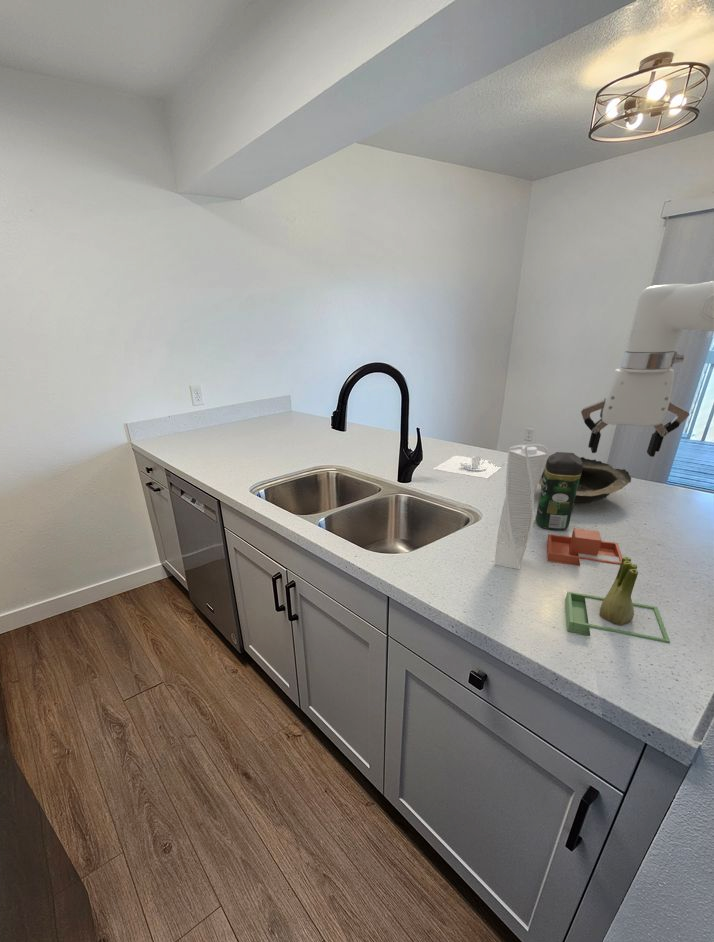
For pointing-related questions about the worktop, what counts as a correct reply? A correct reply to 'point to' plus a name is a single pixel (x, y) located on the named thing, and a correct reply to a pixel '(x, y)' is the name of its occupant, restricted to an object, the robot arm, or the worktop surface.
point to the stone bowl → (597, 481)
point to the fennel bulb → (620, 595)
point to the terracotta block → (585, 542)
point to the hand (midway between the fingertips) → (621, 453)
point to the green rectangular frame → (579, 624)
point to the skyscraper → (519, 503)
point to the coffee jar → (558, 490)
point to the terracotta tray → (561, 554)
